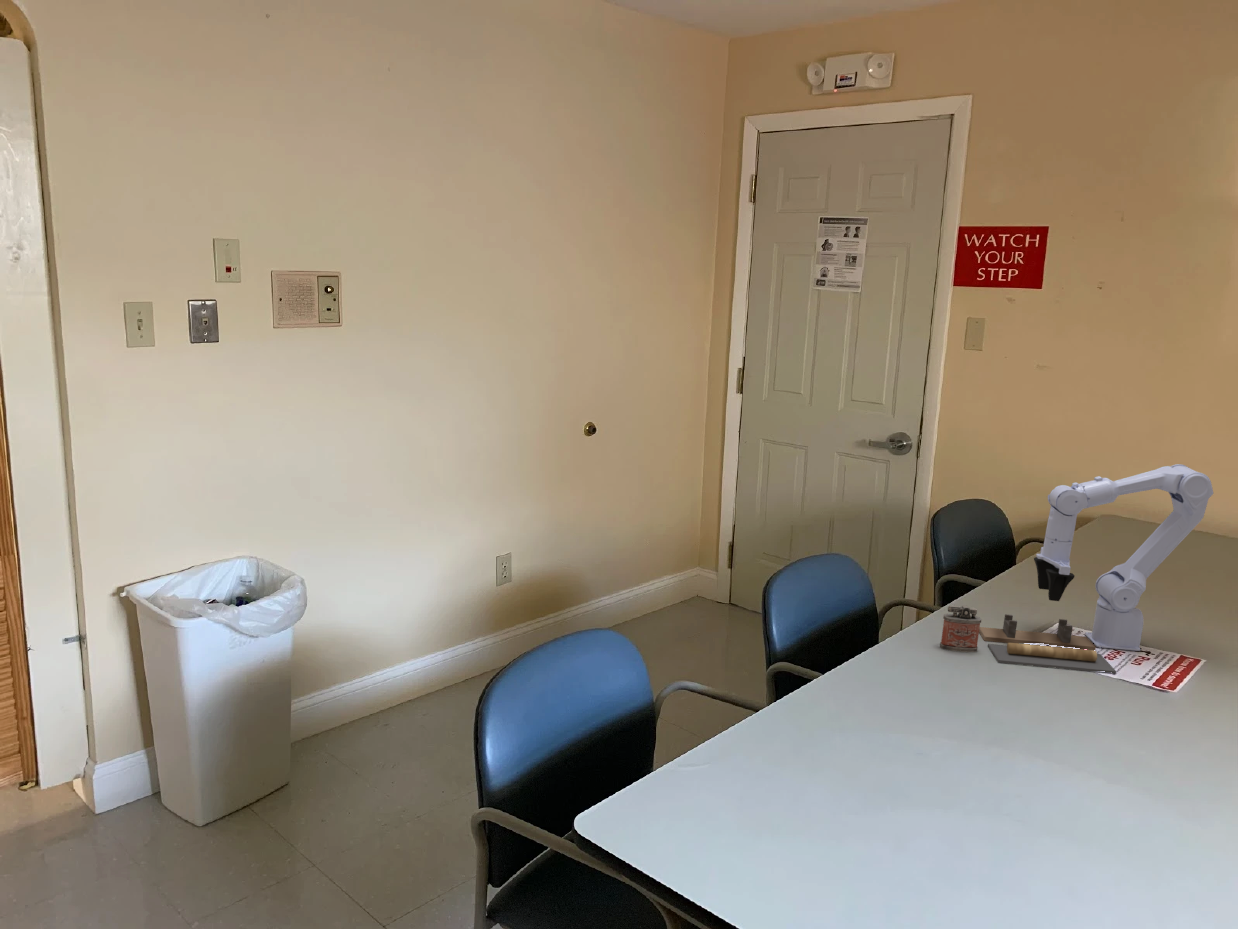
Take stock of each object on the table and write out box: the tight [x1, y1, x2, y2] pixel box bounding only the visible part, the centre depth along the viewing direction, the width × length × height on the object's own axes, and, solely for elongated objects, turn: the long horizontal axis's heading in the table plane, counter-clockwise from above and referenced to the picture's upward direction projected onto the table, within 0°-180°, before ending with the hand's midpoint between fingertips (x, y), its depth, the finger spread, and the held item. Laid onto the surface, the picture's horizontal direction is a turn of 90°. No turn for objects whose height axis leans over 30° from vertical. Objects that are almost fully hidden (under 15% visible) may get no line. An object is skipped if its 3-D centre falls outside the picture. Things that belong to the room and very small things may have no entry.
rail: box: [1006, 643, 1098, 662], centre depth 198 cm, size 18×2×2 cm, turn 82°
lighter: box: [939, 604, 982, 653], centre depth 201 cm, size 8×3×10 cm, turn 84°
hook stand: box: [979, 614, 1097, 651], centre depth 208 cm, size 24×6×5 cm, turn 82°
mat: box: [987, 643, 1117, 674], centre depth 198 cm, size 24×9×1 cm, turn 82°
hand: (1048, 594), depth 209 cm, fingers open, 7 cm apart
